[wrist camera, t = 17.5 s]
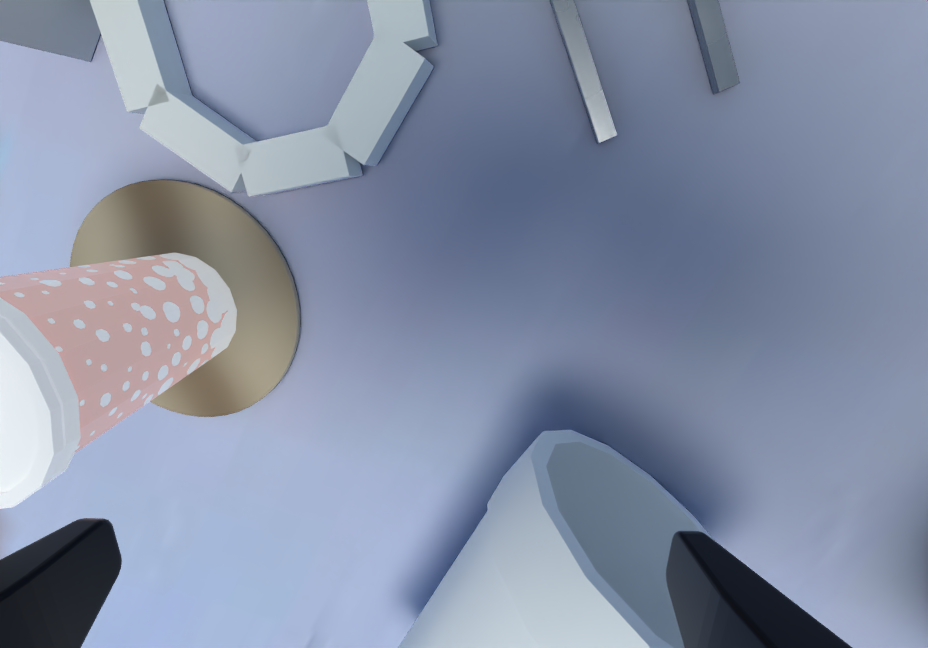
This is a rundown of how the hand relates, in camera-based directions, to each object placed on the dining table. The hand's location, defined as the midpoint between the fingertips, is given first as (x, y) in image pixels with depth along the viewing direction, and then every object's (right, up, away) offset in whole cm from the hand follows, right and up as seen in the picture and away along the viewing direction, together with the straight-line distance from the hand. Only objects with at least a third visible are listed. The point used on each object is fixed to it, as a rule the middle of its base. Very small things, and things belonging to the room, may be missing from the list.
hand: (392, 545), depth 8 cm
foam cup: (0, -13, +12) cm, 18 cm away
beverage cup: (-10, +4, +13) cm, 17 cm away
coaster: (-10, +4, +13) cm, 17 cm away
